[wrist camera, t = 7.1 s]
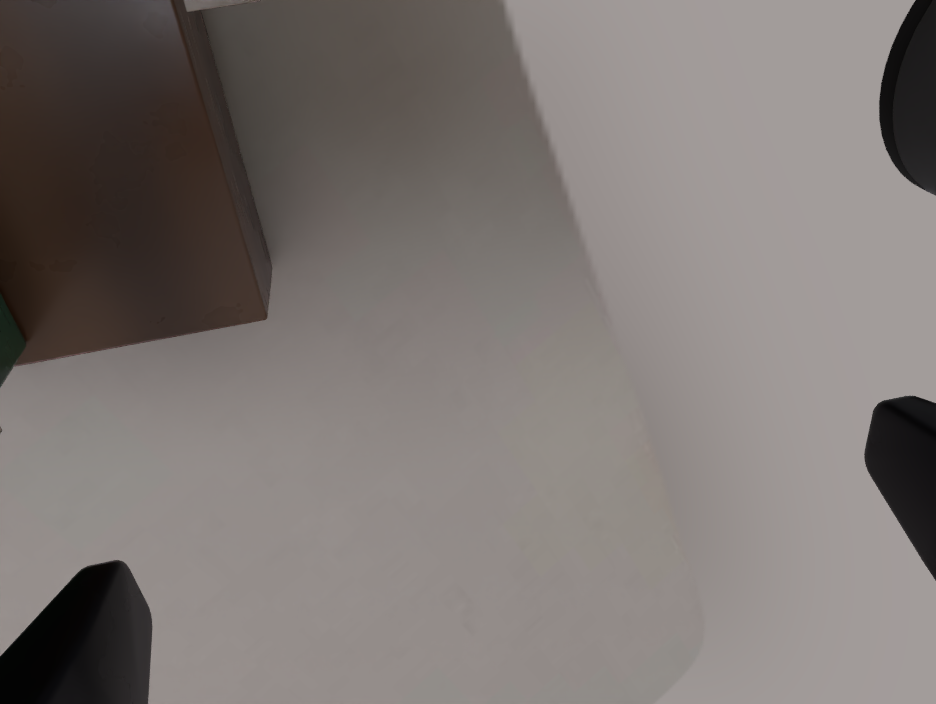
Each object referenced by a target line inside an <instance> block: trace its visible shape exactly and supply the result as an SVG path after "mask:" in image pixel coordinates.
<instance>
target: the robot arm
mask: <svg viewBox="0 0 936 704" xmlns="http://www.w3.org/2000/svg"><path fill="white" fill-rule="evenodd" d="M864 455H865V463H866V467H867V470H868V472H869V474H870V476H871V477H872V479H873V481H874V482H875V484H876V486H877V487H878V489H879V490H880V492H881V494H882V495H883V496H884V499H885V500H886V502H887V503H888V505H889V507H890V508H891V510H892V512H893V513H894V515H895V516H896V518H897V520H898V521H899V523H900V525H901V526H902V528H903V530H904V531H905V533H906V534H907V536H908V538H909V539H910V541H911V542H912V544H913V546H914V547H915V549H916V551H917V552H918V554H919V556H920V557H921V559H922V560H923V562H924V564H925V565H926V567H927V568H928V570H929V571H930V573H931V574H932V575H933V577H934V579H935V580H936V403H933V402H931V401H928V400H925V399H922V398H919V397H916V396H904V397H899V398H894V399H889V400H884V401H882V402H880V403H878V404H877V406H876V407H875V409H874V411H873V415H872V420H871V424H870V429H869V434H868V438H867V443H866V448H865V454H864ZM151 642H152V618H151V613H150V609H149V607H148V604H147V602H146V600H145V598H144V596H143V594H142V593H141V591H140V589H139V587H138V585H137V583H136V581H135V579H134V577H133V575H132V573H131V571H130V569H129V567H128V566H127V565H126V564H125V563H124V562H123V561H119V560H114V561H109V562H105V563H100V564H95V565H90V566H87V567H85V568H83V569H81V570H80V571H79V572H78V573H77V574H76V575H75V576H74V577H73V578H72V579H71V581H70V582H69V583H68V584H67V585H66V586H65V587H64V588H63V589H62V590H61V591H60V592H59V594H58V595H57V596H56V597H55V598H54V599H53V600H52V601H51V602H50V603H49V604H48V605H47V606H46V608H45V609H44V610H43V611H42V612H41V613H40V614H39V615H38V616H37V617H36V618H35V619H34V621H33V622H32V623H31V624H30V625H29V626H28V627H27V628H26V629H25V630H24V631H23V632H22V633H21V635H20V636H19V637H18V638H17V639H16V640H15V641H14V642H13V643H12V644H11V645H10V646H9V648H8V649H7V650H6V651H5V652H4V653H3V654H2V655H1V656H0V704H148V695H149V677H150V660H151Z"/></svg>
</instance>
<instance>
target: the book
mask: <svg viewBox="0 0 936 704" xmlns="http://www.w3.org/2000/svg"><path fill="white" fill-rule="evenodd" d="M25 348H26V341H25V340H24V338H23V336H22V334H21V332H20V330H19V328H18V326H17V324H16V322H15V320H14V318H13V316H12V315H11V313H10V311H9V309H8V307H7V305H6V303H5V301H4V299H3V297H2V295H1V293H0V387H1V386H2V384H3V382H4V381H5V379H6V378H7V376H8V375H9V373H10V371H11V370H12V368H13V367H14V365H15V364H16V362H17V360H18V359H19V357H20V356H21V354H22V353H23V351H24V349H25Z"/></svg>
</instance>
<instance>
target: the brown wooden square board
mask: <svg viewBox="0 0 936 704" xmlns="http://www.w3.org/2000/svg"><path fill="white" fill-rule="evenodd" d="M258 1H261V0H0V293H1V295H2V297H3V299H4V301H5V303H6V305H7V307H8V309H9V311H10V313H11V315H12V316H13V318H14V320H15V322H16V324H17V326H18V328H19V330H20V332H21V334H22V336H23V338H24V340H25V341H26V348H25V349H24V351H23V353H22V354H21V356H20V357H19V359H18V360H17V362H16V364H15V365H14V367H15V366H20V365H25V364H31V363H36V362H42V361H47V360H52V359H58V358H63V357H68V356H74V355H79V354H85V353H90V352H95V351H101V350H106V349H111V348H117V347H122V346H127V345H133V344H138V343H144V342H149V341H154V340H160V339H165V338H170V337H176V336H181V335H187V334H192V333H197V332H203V331H208V330H213V329H219V328H224V327H230V326H235V325H240V324H246V323H251V322H256V321H262V320H266V319H267V316H268V307H269V297H270V287H271V277H272V264H271V260H270V257H269V253H268V250H267V246H266V242H265V239H264V235H263V232H262V228H261V225H260V221H259V217H258V214H257V210H256V207H255V203H254V200H253V196H252V192H251V189H250V185H249V182H248V178H247V175H246V171H245V167H244V164H243V160H242V157H241V153H240V149H239V146H238V142H237V139H236V135H235V132H234V128H233V124H232V121H231V117H230V114H229V110H228V107H227V103H226V99H225V96H224V92H223V89H222V85H221V81H220V78H219V74H218V71H217V67H216V64H215V60H214V56H213V53H212V49H211V46H210V42H209V39H208V35H207V31H206V28H205V24H204V21H203V17H202V13H201V10H204V9H211V8H218V7H224V6H231V5H238V4H245V3H251V2H258ZM1 432H2V429H1V427H0V433H1Z"/></svg>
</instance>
